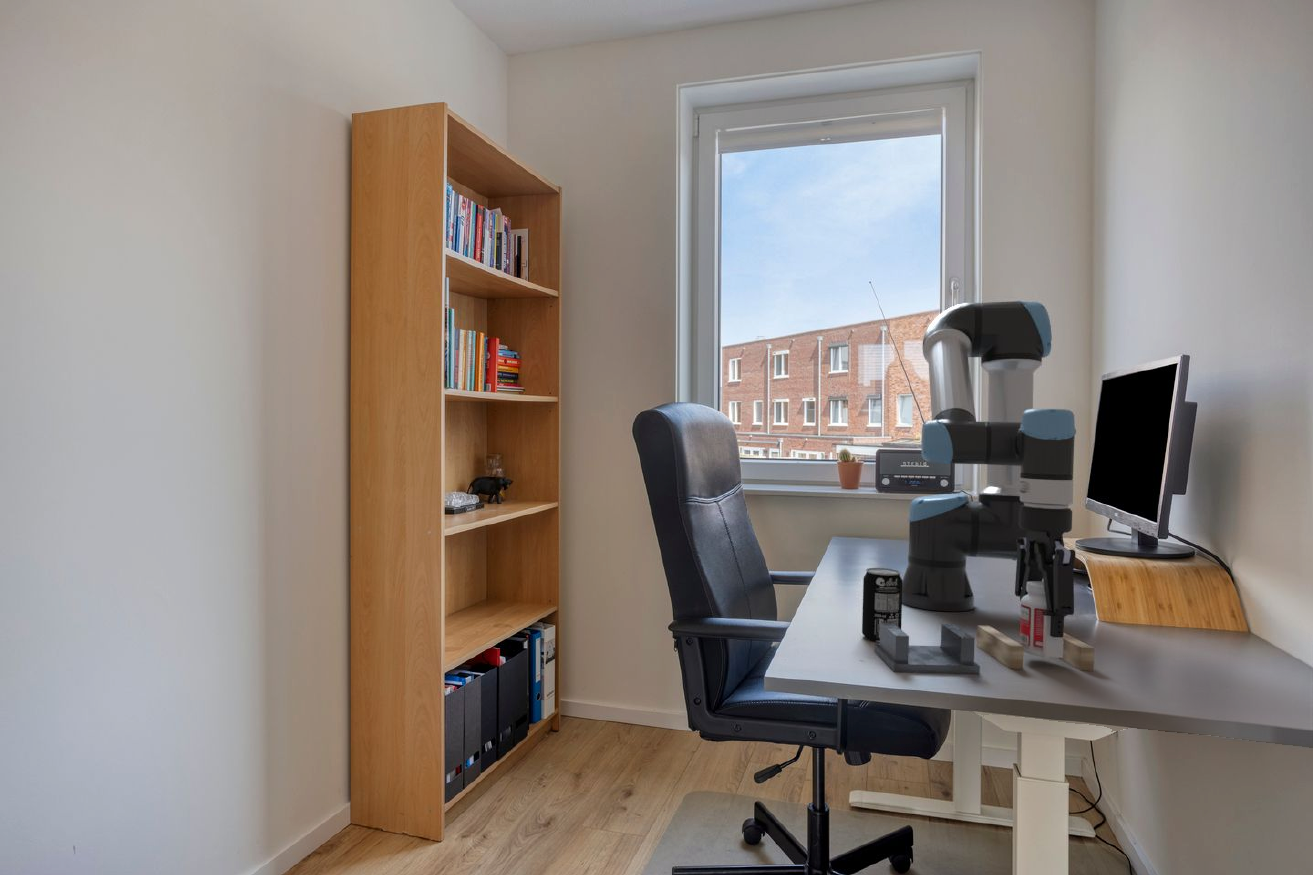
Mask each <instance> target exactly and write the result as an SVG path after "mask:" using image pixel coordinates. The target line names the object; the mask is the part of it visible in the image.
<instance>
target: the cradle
mask: <svg viewBox="0 0 1313 875" xmlns="http://www.w3.org/2000/svg"><path fill="white" fill-rule="evenodd" d="M940 626H941V628H940V630H941V631H940V633H941V634H940V645H910V636H909V635H908V633H906V632H905V631H904V630H902V628H901V629H900V628H899V627H897V626H896V625H895V624H894V623H893V622H880V643H879V644H874V653H875V654H876V655H877V656H878V657H879V658H880V659H881V660H882V662H884V663H885V664H886V665H887V666H888V667H889V668H890V670H891V671H893V672H894V673H923V674H924V673H929V674H930V673H931V674H962V675H963V674H964V675H965V674H967V675H980V674H981V673H980V672H981V669H980V668H981V666H980V665H979V664H978V663H977V662H975V637H974V636H972V635H971V634H969V633H968V632H966V631H965V630H964V629H963V628H961V627H959V626H958V625H956V624H954V623H941V625H940Z"/></svg>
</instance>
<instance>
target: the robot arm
mask: <svg viewBox="0 0 1313 875" xmlns="http://www.w3.org/2000/svg"><path fill="white" fill-rule="evenodd" d="M1051 326H1052V325H1051V320H1050V315H1049V313H1048V311H1047V309H1046V307H1045V305H1044V304H1042V303H1040V302H1038V301H1022V300H1016V301H1015V300H1014V301H996V302H994V301H992V302H989V301H988V302H964V303H960V304H959V303H958V304H955V305H954V306H951V307H949V308H948V309H946V310H944V311H942V312H941V313H940V314H939V315H937V316H936V317H935V318H934V320H932V322H931V323H930V324H929V326H928V327H927V329H926V331H925V333H924V335H923V339H922V354H923V358H924V360H925V361H926V362H927V363H928V376H929V393H930V411H931V420H926V421H924V422H923V423H922V426H921V427H922V428H921V451H920V452H921V458H922V460H924V461H925V462H928V463H938V464H944V465H949V464H952V465H958V464H959V465H986V484H985V487H984V488H982V489H981V490H980V491H979V492H978V498H977V499H978V501H970V498H969V496H968V495H967V494H965V493H954V494H953V493H946V494H945V493H943V494H933V495H932V494H931V495H924V496H919V497H916V498H914V499H913V500H912V501H911V502H910V504H909V505H910V506H909V513H908V514H909V516H908V519H907V521H908V522H909V526H908V527H909V528H908V546H907V547H908V548H907V551H908V554H907V567H906V569H905V571H904V575H903V577H902V578H901V579H902V581H903V583H902V605H903V604H904V605H905V606H910V607H914V608H917V609H922V610H923V609H924V610H928V611H936V612H937V611H938V612H964V611H970V610H972V609H974V608H975V596H974V591H973V589H972V586H971V582H970V580H969V575H968V573H967V557H969V558H970V557H971V558H972V557H973V558H987V559H989V558H990V559H1000V560H1001V559H1002V560H1011V561H1016V568H1015V569H1016V570H1015V582H1014V583H1015V585H1014V595H1015V596H1016V597H1019V601H1020V602H1021V599H1022V598H1023V597H1024V596H1025V595H1027V594H1028V592H1027V591H1026V586H1027V582H1029V581H1042V582H1044V589H1045V597H1046V604H1047V611H1046V612H1043V615H1044V630H1043V656H1044V657H1043V658H1054V659H1055V658H1059V659H1060V658H1063V635H1064V633H1065V618H1066V617H1067V616H1069V615H1070V616H1071V615H1072V616H1073V615H1074V614H1075V594H1074V593H1075V581H1074V580H1075V577H1074V574H1075V573H1074V572H1075V571H1074V570H1075V569H1074V566H1075V559H1076V555H1077V554H1076V551H1075V550H1074V549H1067V547H1065V542H1064V537H1063V535H1064V534H1065V533H1069V532H1071V531H1072V529H1073V510H1072V508H1069V506H1072V505H1073V504H1074V503H1073V502H1074V501H1073V500H1074V461H1075V436H1076V434H1077V430H1076V426H1075V422H1076V421H1075V414H1074V412H1073V411H1071V410H1070V409H1065V408H1064V409H1063V408H1034V373H1035V372H1036V371H1037V370H1038V369H1039V368H1040V367H1041V366H1042V362H1043V360H1042V359H1044V358H1046V357H1049V355H1051V354H1050V353H1051V350H1052V341H1053V340H1052V339H1053V338H1052V337H1053V336H1052V327H1051ZM969 358H980V366H981V368H982V369H983V370H984V371H985V372H987V374H988V386H987V387H988V389H987V392H988V393H987V396H988V398H987V400H988V401H987V421H977V417H976V410H975V402H974V394H973V387H972V379H971V371H970V364H969Z"/></svg>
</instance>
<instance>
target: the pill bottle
mask: <svg viewBox="0 0 1313 875" xmlns="http://www.w3.org/2000/svg"><path fill="white" fill-rule="evenodd" d="M1026 591H1027V592H1028V594H1027V595H1025V596H1024V597H1023V598H1022V599H1021V601H1020V628H1019V631H1020V632H1019V633H1020V634H1019V644H1020V645H1022V646H1023V653H1024V654H1025V653H1026V654H1029V655H1032V656H1036V657H1041V658H1045V657H1044V656H1043V630H1044V615H1043V612H1046V611H1047V604H1046V597H1045V589H1044V582H1043V580H1042V581H1029V582H1027V586H1026ZM1063 648H1064V635H1063Z"/></svg>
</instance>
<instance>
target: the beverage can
mask: <svg viewBox="0 0 1313 875" xmlns="http://www.w3.org/2000/svg"><path fill="white" fill-rule="evenodd" d="M865 572H866V573H865V575H864V576H863V581H862V582H863V584H862V616H861V617H862V618H861V620H862V623H861V633H862V635H863V636H864V638H865V639H867V641H870V642H874V643H879V644H880V622H893V623H894V624H895V625H896V626H897V627H899V628H900V629H901V630H902V618H903V617H902V615H903V614H902V613H903V612H902V610H903V603H902V583H903V581H902V579H903V578H902V577H901V572H900V571H899V570H897V569H893V568H886V567H869V568H866V571H865Z"/></svg>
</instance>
